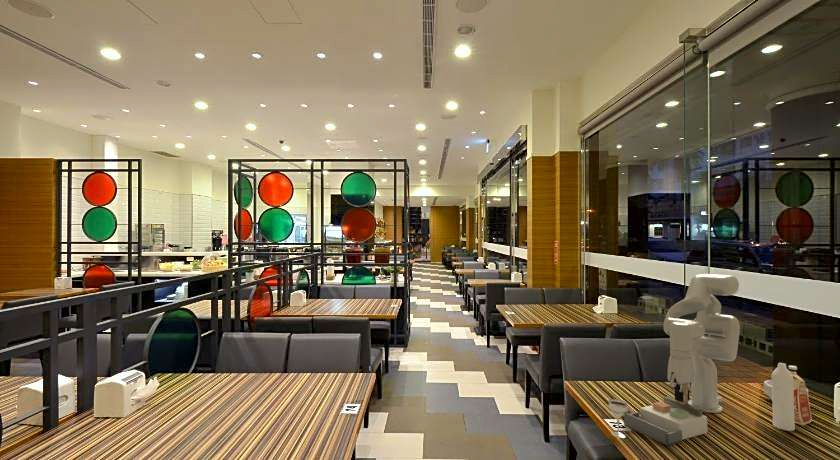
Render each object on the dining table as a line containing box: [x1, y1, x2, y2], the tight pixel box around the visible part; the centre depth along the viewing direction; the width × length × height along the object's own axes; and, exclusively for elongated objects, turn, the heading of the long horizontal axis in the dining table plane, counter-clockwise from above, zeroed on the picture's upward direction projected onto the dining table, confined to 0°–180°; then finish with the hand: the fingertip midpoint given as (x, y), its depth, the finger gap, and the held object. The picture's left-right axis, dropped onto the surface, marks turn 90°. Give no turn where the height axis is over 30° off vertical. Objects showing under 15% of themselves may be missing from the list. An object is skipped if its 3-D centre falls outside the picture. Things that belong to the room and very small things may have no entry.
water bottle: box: [771, 362, 798, 432], centre depth 161 cm, size 9×6×25 cm
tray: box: [623, 411, 683, 447], centre depth 156 cm, size 8×18×5 cm, turn 23°
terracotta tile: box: [652, 401, 671, 412], centre depth 164 cm, size 4×4×2 cm
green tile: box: [669, 408, 689, 419], centre depth 157 cm, size 4×4×2 cm
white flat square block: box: [639, 404, 708, 441], centre depth 161 cm, size 16×16×6 cm
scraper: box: [663, 383, 704, 417], centre depth 164 cm, size 3×14×10 cm, turn 23°
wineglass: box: [608, 398, 629, 439], centre depth 155 cm, size 7×7×12 cm
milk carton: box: [789, 370, 813, 426], centre depth 170 cm, size 9×9×20 cm
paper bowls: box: [763, 379, 810, 401], centre depth 187 cm, size 15×15×8 cm
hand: (682, 399), depth 164 cm, fingers closed on scraper, 2 cm apart
